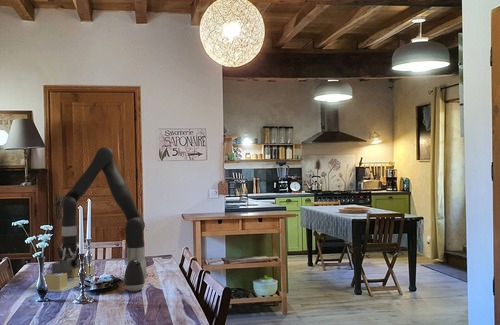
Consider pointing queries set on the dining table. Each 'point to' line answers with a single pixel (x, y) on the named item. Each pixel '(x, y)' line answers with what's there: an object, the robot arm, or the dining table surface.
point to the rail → (65, 265)
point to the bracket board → (65, 280)
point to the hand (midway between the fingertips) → (69, 266)
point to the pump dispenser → (134, 276)
